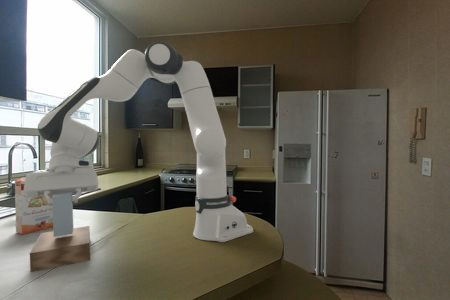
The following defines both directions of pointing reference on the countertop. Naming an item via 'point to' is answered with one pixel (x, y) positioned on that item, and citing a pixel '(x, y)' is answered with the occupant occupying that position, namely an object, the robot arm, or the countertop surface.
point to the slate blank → (62, 214)
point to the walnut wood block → (60, 249)
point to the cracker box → (31, 211)
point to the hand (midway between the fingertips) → (62, 203)
